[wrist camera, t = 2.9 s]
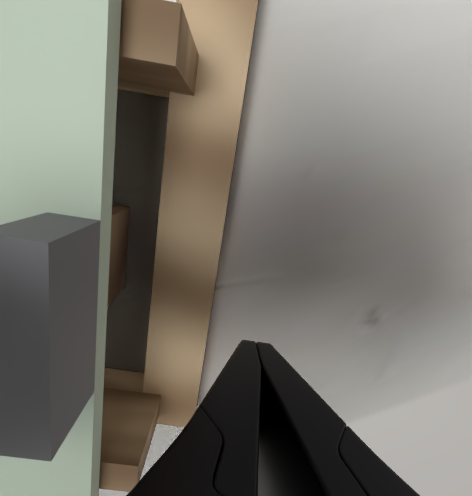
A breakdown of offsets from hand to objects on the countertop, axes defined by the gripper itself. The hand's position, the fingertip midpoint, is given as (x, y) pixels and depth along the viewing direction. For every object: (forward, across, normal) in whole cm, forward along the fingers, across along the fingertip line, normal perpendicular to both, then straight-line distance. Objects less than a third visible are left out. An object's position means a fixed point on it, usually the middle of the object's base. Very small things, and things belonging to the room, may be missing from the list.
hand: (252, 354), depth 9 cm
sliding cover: (+2, +8, 0) cm, 9 cm away
